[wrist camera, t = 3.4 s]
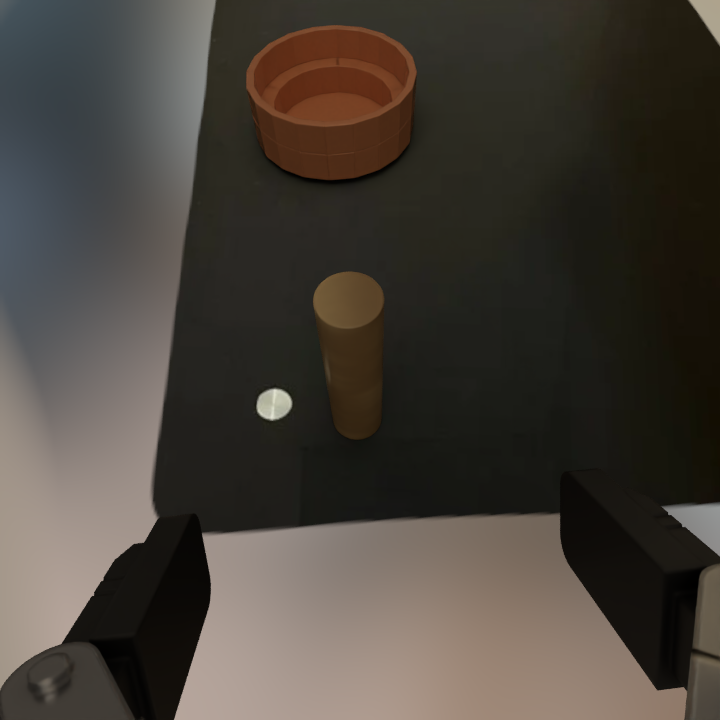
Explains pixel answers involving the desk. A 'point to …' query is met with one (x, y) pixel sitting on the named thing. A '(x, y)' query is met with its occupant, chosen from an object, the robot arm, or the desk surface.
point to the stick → (352, 350)
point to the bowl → (333, 101)
